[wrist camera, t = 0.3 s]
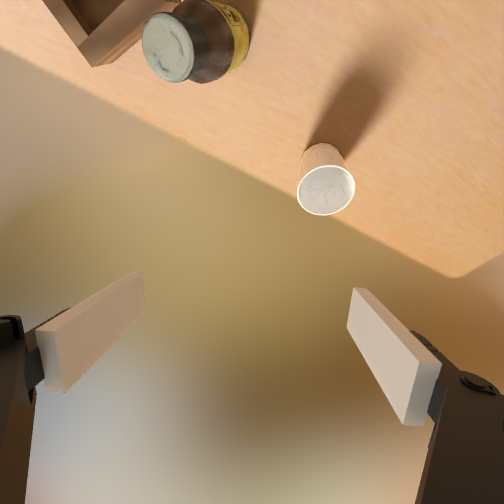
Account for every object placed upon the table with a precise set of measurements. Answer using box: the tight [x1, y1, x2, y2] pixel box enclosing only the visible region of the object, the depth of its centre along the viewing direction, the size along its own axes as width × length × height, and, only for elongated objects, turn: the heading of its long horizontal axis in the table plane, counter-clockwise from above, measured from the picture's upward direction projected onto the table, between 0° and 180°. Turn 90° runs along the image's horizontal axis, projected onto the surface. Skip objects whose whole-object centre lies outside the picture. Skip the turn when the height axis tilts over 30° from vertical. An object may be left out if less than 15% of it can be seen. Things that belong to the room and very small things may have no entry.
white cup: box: [297, 143, 355, 215], centre depth 38 cm, size 8×8×10 cm
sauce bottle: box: [142, 0, 250, 84], centre depth 25 cm, size 6×6×20 cm
